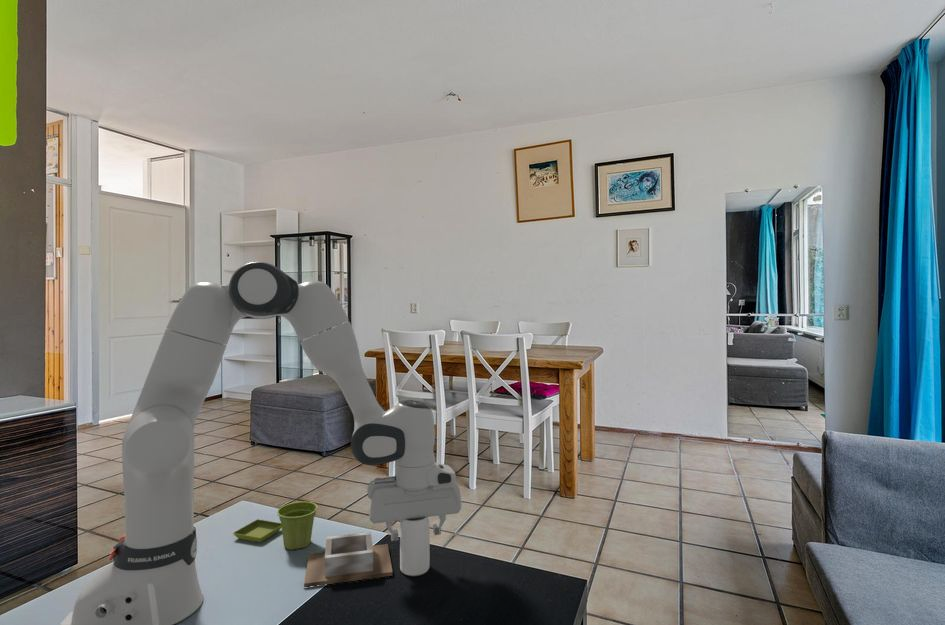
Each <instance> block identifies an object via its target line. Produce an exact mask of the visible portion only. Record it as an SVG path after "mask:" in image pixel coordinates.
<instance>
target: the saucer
mask: <svg viewBox="0 0 945 625" xmlns="http://www.w3.org/2000/svg"><path fill="white" fill-rule="evenodd" d="M280 530H282V527H281V522H276V521H272V520H270V521H269V520H264V519H256V520H255V519H254V520H253V521H252V522H250V523H248V524H246V525H245V526H243V527H240V528H239V529H237V530H236V531H234V532H233V533H232V534H233V535H234V536H235V537H236V539H239V540H242V541H243V540H244V541H250V542H255V543H256V542H257V543H262V542H264V541H265V540H267V539H268V538H270V537H272V536H273V535H275V534H276V533H278V532H279V531H280Z"/></svg>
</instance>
